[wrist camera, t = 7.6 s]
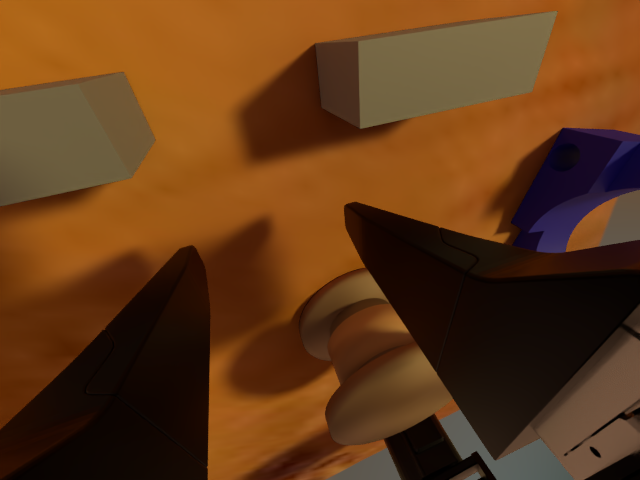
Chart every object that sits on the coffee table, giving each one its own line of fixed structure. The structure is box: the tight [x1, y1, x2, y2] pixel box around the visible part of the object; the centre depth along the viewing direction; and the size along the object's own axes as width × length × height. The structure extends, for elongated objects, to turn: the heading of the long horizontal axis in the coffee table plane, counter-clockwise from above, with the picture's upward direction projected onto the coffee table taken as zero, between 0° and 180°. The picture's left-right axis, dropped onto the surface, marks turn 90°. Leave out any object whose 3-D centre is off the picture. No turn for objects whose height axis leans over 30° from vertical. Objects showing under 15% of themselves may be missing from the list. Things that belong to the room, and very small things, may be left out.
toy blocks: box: [0, 11, 558, 206], centre depth 8 cm, size 2×17×4 cm, turn 97°
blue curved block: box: [511, 128, 640, 253], centre depth 17 cm, size 12×4×6 cm, turn 175°
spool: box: [299, 268, 453, 445], centre depth 16 cm, size 8×8×6 cm
